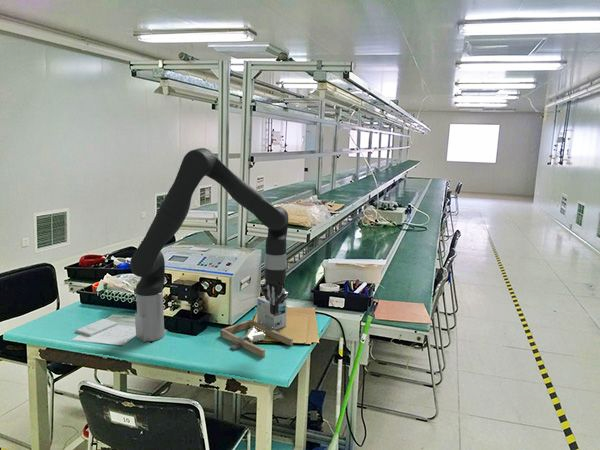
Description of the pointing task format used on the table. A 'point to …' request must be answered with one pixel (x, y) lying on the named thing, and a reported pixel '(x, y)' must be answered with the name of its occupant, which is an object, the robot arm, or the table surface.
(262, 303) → the light bulb box
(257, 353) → the wooden frame
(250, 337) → the pipe fitting
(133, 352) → the table surface
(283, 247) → the robot arm
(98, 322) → the external hard drive
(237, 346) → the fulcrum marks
